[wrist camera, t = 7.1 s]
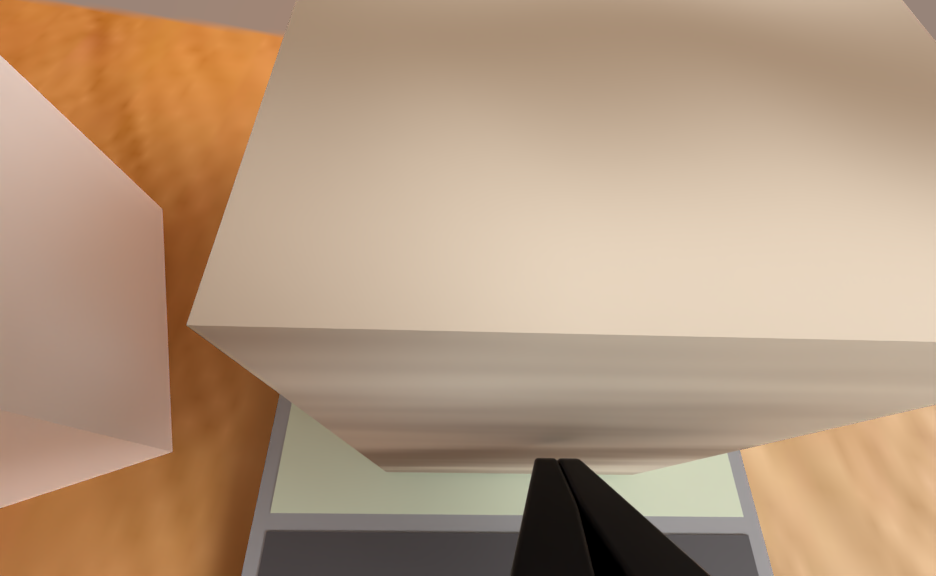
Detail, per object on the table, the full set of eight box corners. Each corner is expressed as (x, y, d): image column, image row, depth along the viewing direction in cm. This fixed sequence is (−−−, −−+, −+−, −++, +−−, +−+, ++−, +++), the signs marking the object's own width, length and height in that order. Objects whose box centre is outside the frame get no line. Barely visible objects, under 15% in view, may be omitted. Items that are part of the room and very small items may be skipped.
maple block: (632, 474, 14) (1183, 347, 4) (386, 472, 14) (186, 324, 3) (610, 332, 16) (900, -1, 6) (399, 327, 16) (306, -30, 6)
